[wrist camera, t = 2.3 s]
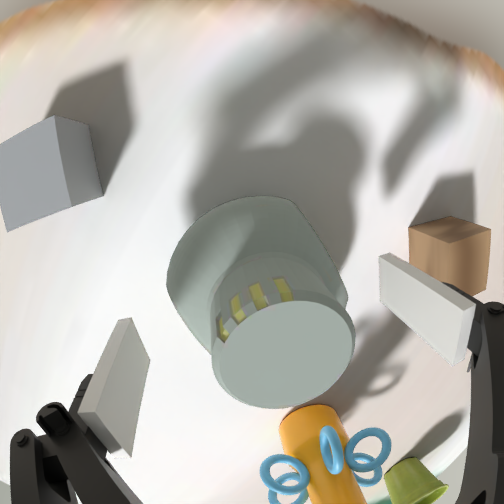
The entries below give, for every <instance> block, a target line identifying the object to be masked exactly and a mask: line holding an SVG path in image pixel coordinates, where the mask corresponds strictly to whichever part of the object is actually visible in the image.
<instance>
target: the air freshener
mask: <svg viewBox="0 0 504 504" xmlns="http://www.w3.org/2000/svg"><path fill="white" fill-rule="evenodd" d="M166 286H167V290H168V293H169V296H170V298H171V300H172V302H173V304H174V306H175V308H176V310H177V312H178V313H179V315H180V317H181V318H182V320H183V321H184V323H185V324H186V326H187V327H188V329H189V330H190V331H191V333H192V334H193V335H194V336H195V338H196V339H197V340H198V341H199V342H200V344H201V345H202V346H203V347H204V348H205V349H206V350H207V351H208V352H209V353H210V354H211V355H212V368H213V371H214V375H215V377H216V379H217V381H218V383H219V384H220V386H221V387H222V388H223V389H224V390H225V391H226V392H227V393H228V394H229V395H230V396H232V397H233V398H235V399H237V400H238V401H240V402H242V403H245V404H248V405H251V406H255V407H260V408H269V409H280V408H288V407H294V406H297V405H300V404H303V403H306V402H308V401H310V400H313V399H314V398H316V397H318V396H320V395H321V394H323V393H324V392H325V391H327V390H328V389H329V388H330V387H331V386H332V385H333V384H334V383H335V382H336V381H337V380H338V379H339V378H340V376H341V375H342V374H343V373H344V371H345V370H346V368H347V366H348V364H349V363H350V360H351V358H352V355H353V352H354V347H355V330H354V325H353V323H352V320H351V317H350V316H349V314H348V313H347V311H346V310H345V308H346V304H347V301H348V294H347V291H346V288H345V286H344V283H343V281H342V279H341V277H340V275H339V273H338V271H337V269H336V267H335V265H334V263H333V261H332V260H331V258H330V256H329V254H328V252H327V251H326V249H325V247H324V246H323V244H322V242H321V241H320V239H319V237H318V236H317V234H316V233H315V231H314V230H313V228H312V227H311V225H310V224H309V222H308V221H307V220H306V218H305V217H304V215H303V214H302V213H301V211H300V210H299V209H298V208H297V206H296V205H295V204H294V203H293V202H292V201H290V200H287V199H284V198H280V197H272V196H251V197H244V198H240V199H236V200H232V201H229V202H226V203H224V204H222V205H220V206H218V207H215V208H213V209H212V210H210V211H209V212H207V213H206V214H205V215H203V216H202V217H200V218H199V219H198V220H197V221H196V222H195V223H194V224H193V225H192V226H191V227H190V228H189V229H188V230H187V231H186V233H185V234H184V235H183V237H182V238H181V239H180V241H179V242H178V245H177V247H176V249H175V251H174V253H173V255H172V257H171V261H170V264H169V268H168V271H167V282H166Z"/></svg>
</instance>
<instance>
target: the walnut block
mask: <svg viewBox="0 0 504 504" xmlns="http://www.w3.org/2000/svg"><path fill="white" fill-rule="evenodd" d="M408 230H409V264H411V265H413V266H414V267H416V268H418V269H419V270H421V271H423V272H425V273H426V274H428V275H430V276H431V277H433V278H435V279H436V280H438V281H440V282H445V283H449V284H452V285H454V286H456V287H457V288H459V289H460V290H462V291H464V292H465V293H467V294H469V295H470V296H474V295H476V294H478V293H480V292H482V291H484V290H486V284H487V276H488V267H489V256H490V240H491V229H489V228H486V227H483V226H480V225H477V224H474V223H471V222H468V221H465V220H461V219H458V218H455V217H452V216H450V217H446V218H442V219H438V220H434V221H431V222H427V223H423V224H419V225H415V226H411V227H408Z"/></svg>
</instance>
